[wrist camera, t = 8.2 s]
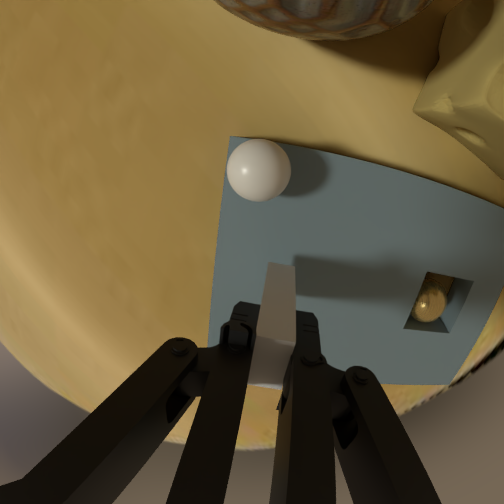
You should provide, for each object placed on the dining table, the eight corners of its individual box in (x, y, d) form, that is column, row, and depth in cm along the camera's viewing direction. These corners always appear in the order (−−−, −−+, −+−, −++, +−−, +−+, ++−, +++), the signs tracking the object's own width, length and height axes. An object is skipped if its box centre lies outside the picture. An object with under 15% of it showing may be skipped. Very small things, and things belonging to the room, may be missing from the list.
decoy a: (237, 135, 15) (224, 134, 12) (295, 144, 15) (296, 144, 12) (229, 190, 16) (216, 202, 13) (285, 199, 16) (284, 213, 13)
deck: (237, 136, 18) (230, 136, 15) (508, 210, 16) (526, 219, 14) (213, 339, 24) (206, 358, 21) (440, 367, 22) (449, 384, 20)
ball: (437, 293, 16) (460, 291, 17) (408, 270, 19) (434, 271, 20) (417, 333, 17) (442, 328, 18) (393, 308, 20) (419, 306, 21)
